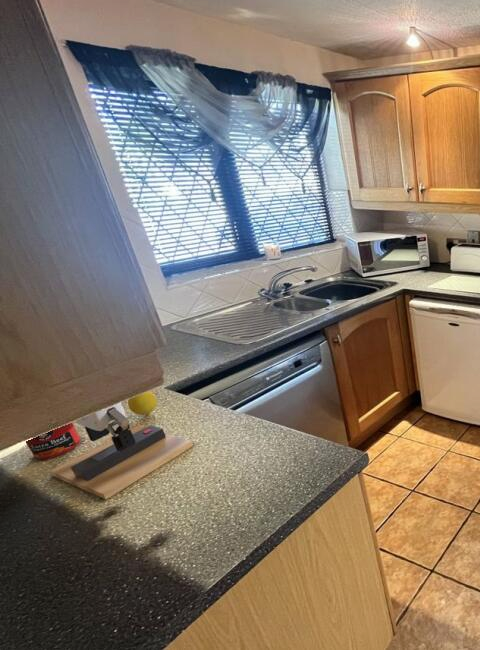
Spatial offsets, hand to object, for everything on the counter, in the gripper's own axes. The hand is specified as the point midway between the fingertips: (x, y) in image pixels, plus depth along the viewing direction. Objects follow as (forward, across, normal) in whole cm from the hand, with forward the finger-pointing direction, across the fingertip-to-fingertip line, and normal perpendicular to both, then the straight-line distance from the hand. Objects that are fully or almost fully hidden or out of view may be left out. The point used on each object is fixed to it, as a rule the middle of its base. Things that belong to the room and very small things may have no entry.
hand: (113, 442), depth 88 cm
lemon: (+6, -15, +14) cm, 21 cm away
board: (+6, +1, 0) cm, 6 cm away
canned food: (+6, -20, -2) cm, 21 cm away
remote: (+4, +1, 0) cm, 4 cm away
